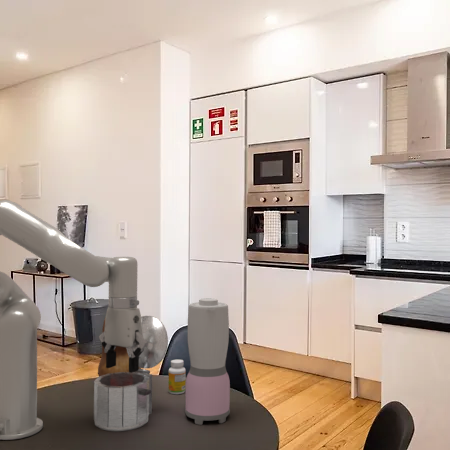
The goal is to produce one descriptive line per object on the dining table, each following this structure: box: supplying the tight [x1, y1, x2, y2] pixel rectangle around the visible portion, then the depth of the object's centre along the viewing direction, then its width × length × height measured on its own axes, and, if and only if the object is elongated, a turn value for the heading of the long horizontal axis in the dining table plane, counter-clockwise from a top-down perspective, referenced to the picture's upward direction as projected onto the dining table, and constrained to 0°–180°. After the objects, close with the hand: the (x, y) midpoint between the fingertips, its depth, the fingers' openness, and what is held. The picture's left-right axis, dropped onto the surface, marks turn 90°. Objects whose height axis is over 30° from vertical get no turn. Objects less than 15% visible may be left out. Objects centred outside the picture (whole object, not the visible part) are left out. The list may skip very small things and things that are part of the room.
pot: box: [93, 372, 153, 432], centre depth 134 cm, size 16×18×11 cm
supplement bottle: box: [167, 359, 187, 395], centre depth 157 cm, size 5×5×10 cm
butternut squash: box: [97, 316, 142, 377], centre depth 158 cm, size 14×13×25 cm
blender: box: [184, 298, 231, 426], centre depth 138 cm, size 16×12×32 cm
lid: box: [126, 315, 169, 374], centre depth 141 cm, size 16×15×2 cm
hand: (122, 368), depth 133 cm, fingers open, 7 cm apart
